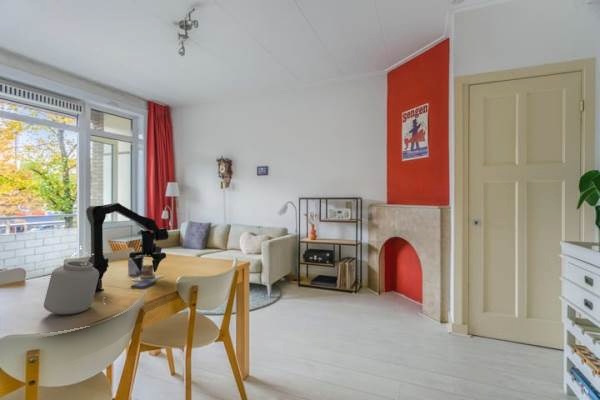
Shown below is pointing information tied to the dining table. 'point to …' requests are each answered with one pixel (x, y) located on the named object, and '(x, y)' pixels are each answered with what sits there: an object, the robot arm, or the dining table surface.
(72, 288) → the jar
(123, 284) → the dining table surface
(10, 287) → the dining table surface
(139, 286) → the ink pad
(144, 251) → the robot arm
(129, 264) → the medicine box
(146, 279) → the mat
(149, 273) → the stamp
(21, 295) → the dining table surface
